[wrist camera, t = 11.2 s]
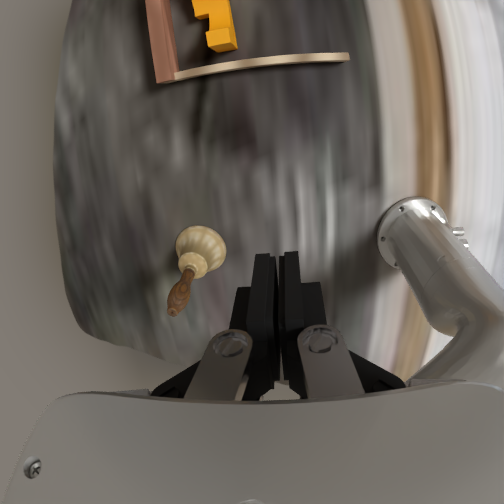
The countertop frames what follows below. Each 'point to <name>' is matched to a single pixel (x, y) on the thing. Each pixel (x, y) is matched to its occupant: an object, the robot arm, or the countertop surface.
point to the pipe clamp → (217, 23)
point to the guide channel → (169, 67)
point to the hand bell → (194, 262)
